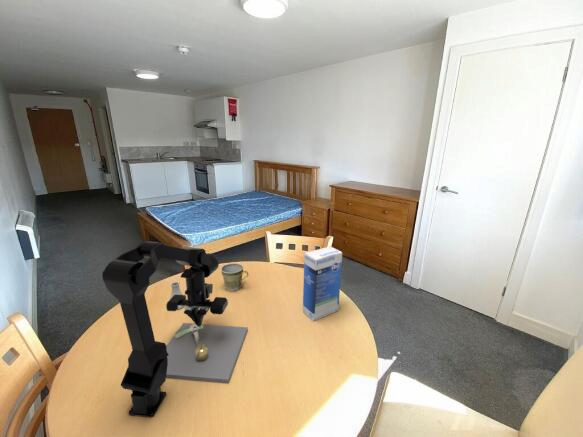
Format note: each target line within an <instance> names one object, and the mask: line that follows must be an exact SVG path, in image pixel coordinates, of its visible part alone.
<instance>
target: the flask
mask: <svg viewBox="0 0 583 437" xmlns="http://www.w3.org/2000/svg"><path fill="white" fill-rule="evenodd" d="M170 287H171V294H170V298H169V300H170V299H171V298H172V297H173V296H174V295H184V294H183V293H182V291H181V287H180V282H179V281H173V282H171V283H170ZM183 308H184V306H181V305H178V309H177V310H181V309H183ZM177 310H176V311H177Z"/></svg>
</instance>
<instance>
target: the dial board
mask: <svg viewBox="0 0 583 437" xmlns="http://www.w3.org/2000/svg"><path fill="white" fill-rule="evenodd" d="M192 324H194V322H192V323H191V322H182V324H181V326H180V327H179V328H178V329H177V330H176V331H175V333H174V335H173V336H172V337H171V339H170V340H169V342H168V343H167V344H166V348H167V353H168V354H169V355H168V356H167V359H168V366H167V374H166V379H167V378H168V379H178V380H190V381H200V382H209V383H210V382H211V383H222V384H229V383H230V380H231V378H232V375H233V372H234V369H235V368H236V364H237V362H238V358H239V356H240V353H241V350H242V348H243V344H244V343H245V342H244V341H245V339H246V336H247V333H248V331H249V330H248V329H249V328H248V327H245V326H232V325H220V324H219V325H218V324H217V325H216V324H203V323H202V324H201V326H200V327H198V329H199V333H198V335H199V338H200V341H201V344H202V345H203V344H204V345H207V347H208V357H207V358H206V359H205V360H203V361H198V360H196V354H195V349H196V347H197V345H196V342H195V339H194V335H191V331H190V325H192Z"/></svg>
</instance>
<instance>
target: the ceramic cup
mask: <svg viewBox="0 0 583 437" xmlns="http://www.w3.org/2000/svg"><path fill="white" fill-rule="evenodd" d="M220 272H221V276H222V279H223V282H224V286H225V289H226V290H227V291H228V292H229V291H231V292H234V291H238V290H239V289H241V285H242V281H244V280H245V279H246V278H248V277H249V272H248V271H247V270H244V265H243V264H241V263H237V262H235V263H233V262H231V263H227V264H224V265H223V266H221V268H220ZM244 273H245V274H246V276H245V277H243V274H244Z"/></svg>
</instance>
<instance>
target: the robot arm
mask: <svg viewBox="0 0 583 437" xmlns="http://www.w3.org/2000/svg"><path fill="white" fill-rule="evenodd" d="M145 258H147V260H146V261H145V262H140V261H142V260H144V259H145ZM161 259H162V260H163V259H164V260H169V261H170V260H171V261H175V262H176V263H178V264H180V265H182V266H188V267H189V268H184V271H183V272H182V273H181V274H180V278H181V279H182V278H183V279H185V285H186V286H185V287H186V290H184V294H183V295H174V296H173V297H172V298H171V299H170V298H169V300H168V301H167V302H166V304H165V305H166V306H165V308H166V311H167V312H176V311H177V309H178V305H181V306H184V307H183V308H184V311H183V314H184V315H187V316H188V318H189V319H191V320H192V321H193V324H194V323H195V324H196V325H197V326H198V327H200V326H201V324H203V321H204V318H205V316H206V315H207V314H208V312H210V313H211V314H213V315H222V314H223V313H224V312H225V310H226V308H227V307H228V305H229V304H228V303H229V302H228V299H227V298H226V297H223V296H222V297H221V296H215V297H214V299H213V300H211V299H209V298H210V294H213V286H214V283H206V280H205V278H209V277H210V276H211V275H212V274H214V273H215V272H216V271H217V270H218V268H219V265H220V264H219V261H218V260H217V258H216V257H214V254H213V253H207V252H206V250H205V249H204V248H200V247H191V246H182V247H181V246H180V247H178V246H172V245H167V244H165V243H162V242H158V241H150V240H149V241H148V240H147V241H142V242H141V243H139V244H138V245H137V246H136V247H134V248H133V249H130V250H127V251H126V252H123V253H122V254H120V255H119V256H117V257H116V258H114V260H112V261H110V262H109V263H108V264H107V265H106V267H105V268H104V270H103V271H102V273H101V274H102V281H103V283H104V285H105V287H106V289H107V291H108V292H109V293H110V294H112V295H113V297H114V298H116V299H117V300H118V302H119V304H120V308H121V312H122V314H123V315H122V316H123V320H124V323H125V327H126V330H127V334H128V337H129V338H128V339H129V342H130V345H131V352H130V354H129V356H128V358H127V363H128V366H127V368H126V370H125V374H124V376H123V378H122V380H121V382H120V387H121V388H123V389H124V390H128V391H131V394H130V396H131V402H132V406H131V408H130V409H129V410H128V415H129V416H137V417H138V416H139V417H148V418H152V417H154V416H155V414H157V411H158V409H159V407H160V406H161V404H162V403H163V400H164V399H165V397H166V396H167V391H162V386H163V385H164V383H165V382H166V380H167V378H166V374H167V366H168V359H167V356H168V355H169V354H168V353H167V348H166V345H167V344H166V343H165V342H162V341H158V340H157V341H156V338H155V335H154V334H155V333H154V330H153V326H152V321H151V317H150V316H151V315H150V313H149V308H148V304H147V299H146V291H147V289H148V288H149V285H150V278H151V276H153V274H154V273H156V271H157V270H158V263H159V261H160V260H161ZM178 310H179V309H178Z"/></svg>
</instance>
